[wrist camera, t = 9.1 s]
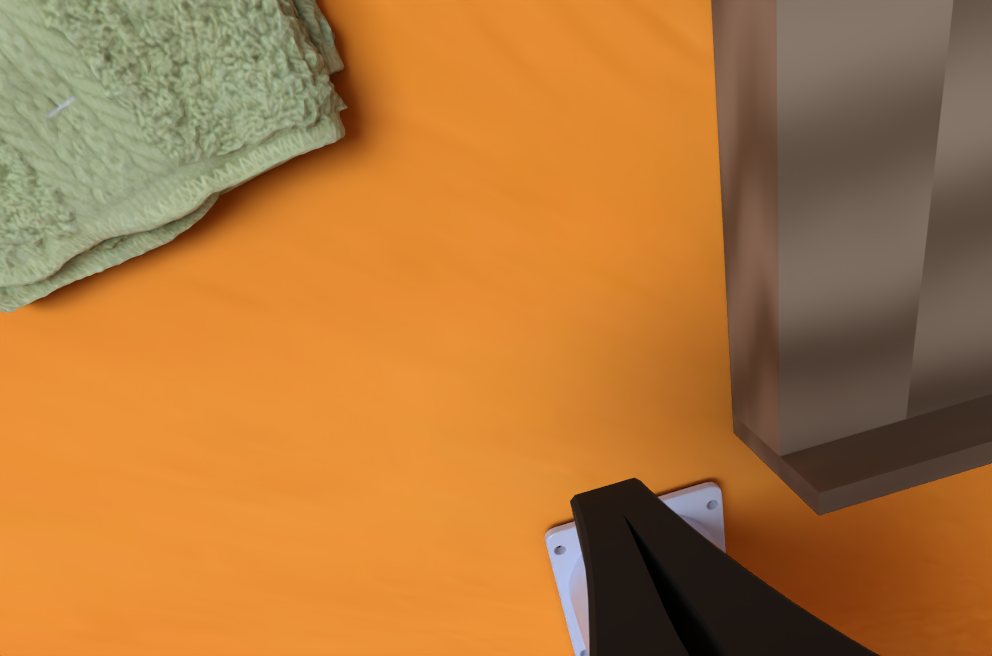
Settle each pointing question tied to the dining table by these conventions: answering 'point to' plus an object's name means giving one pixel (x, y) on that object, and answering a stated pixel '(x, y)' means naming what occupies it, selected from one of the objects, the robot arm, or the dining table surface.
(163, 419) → the dining table surface
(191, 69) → the washcloth
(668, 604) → the robot arm
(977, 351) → the trap box
